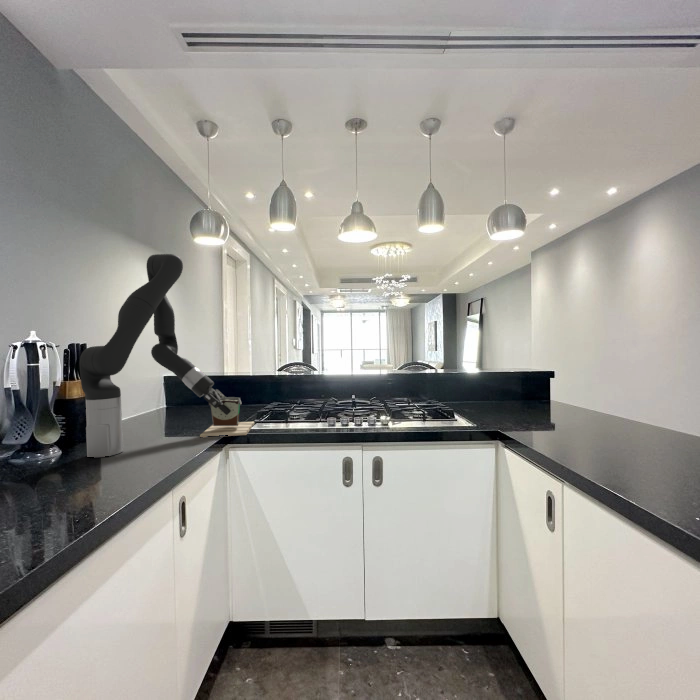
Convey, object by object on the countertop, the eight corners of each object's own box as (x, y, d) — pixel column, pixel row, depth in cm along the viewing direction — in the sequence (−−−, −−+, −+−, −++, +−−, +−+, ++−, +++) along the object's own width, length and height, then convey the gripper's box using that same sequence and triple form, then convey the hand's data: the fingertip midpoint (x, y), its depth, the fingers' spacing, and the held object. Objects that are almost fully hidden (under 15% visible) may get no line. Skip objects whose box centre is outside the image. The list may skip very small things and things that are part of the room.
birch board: (246, 434, 140) (246, 432, 139) (200, 437, 138) (199, 434, 138) (254, 423, 159) (254, 421, 159) (214, 426, 158) (214, 423, 158)
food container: (247, 422, 151) (246, 396, 151) (241, 425, 145) (240, 398, 145) (216, 422, 152) (215, 397, 152) (209, 426, 146) (208, 399, 146)
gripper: (199, 375, 140) (234, 407, 142) (209, 373, 155) (241, 401, 156) (184, 391, 140) (219, 422, 141) (196, 387, 154) (228, 415, 156)
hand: (230, 411), depth 149 cm, fingers closed on food container, 6 cm apart
